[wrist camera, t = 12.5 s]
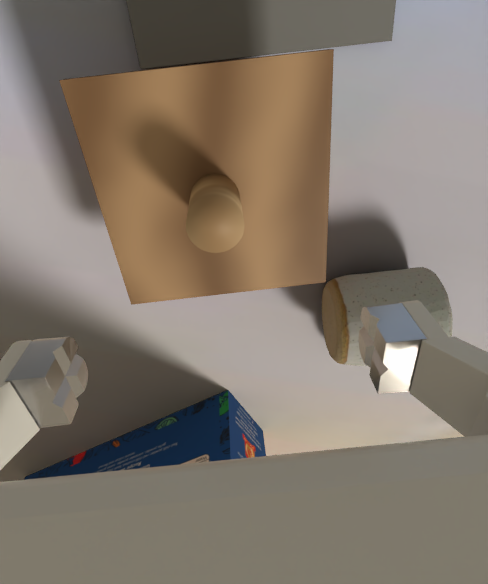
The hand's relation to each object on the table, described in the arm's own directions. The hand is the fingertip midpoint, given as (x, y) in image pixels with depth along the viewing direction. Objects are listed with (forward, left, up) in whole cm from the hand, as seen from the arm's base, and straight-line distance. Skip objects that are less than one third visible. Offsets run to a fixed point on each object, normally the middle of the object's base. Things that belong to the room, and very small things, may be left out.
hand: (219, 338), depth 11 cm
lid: (0, 0, -13) cm, 13 cm away
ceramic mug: (-12, +14, -19) cm, 26 cm away
